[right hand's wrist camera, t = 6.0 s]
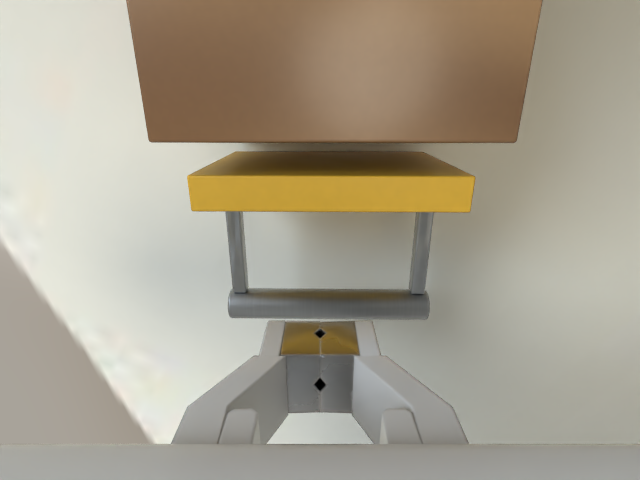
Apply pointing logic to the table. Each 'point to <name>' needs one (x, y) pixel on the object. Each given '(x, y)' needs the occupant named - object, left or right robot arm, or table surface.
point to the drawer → (330, 196)
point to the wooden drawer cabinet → (333, 69)
